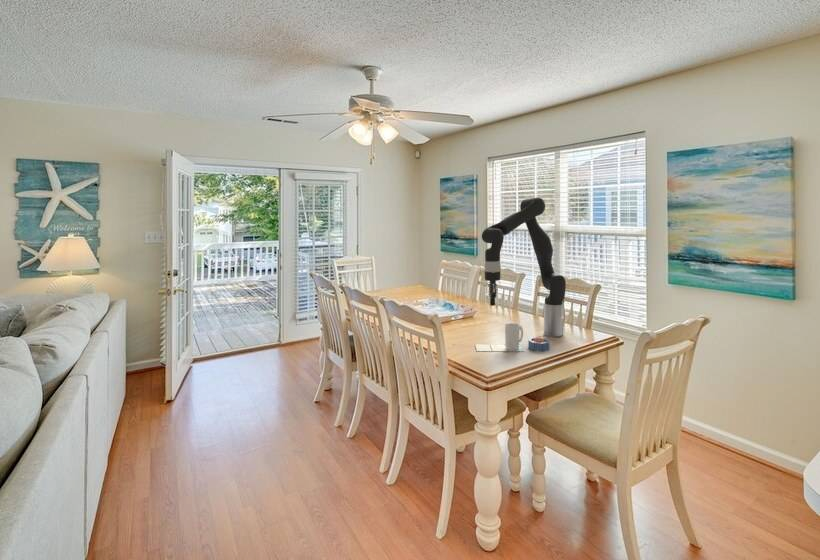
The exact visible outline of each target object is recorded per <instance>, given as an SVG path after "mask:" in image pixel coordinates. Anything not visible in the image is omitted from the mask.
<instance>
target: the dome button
mask: <svg viewBox="0 0 820 560" xmlns="http://www.w3.org/2000/svg"><path fill="white" fill-rule="evenodd" d="M535 337H536V338H535V339H534V340H533V341H534V342H539V343H543V342H545V341H544V339H543V338H544V337H541V336H535Z"/></svg>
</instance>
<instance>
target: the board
mask: <svg viewBox="0 0 820 560" xmlns="http://www.w3.org/2000/svg"><path fill="white" fill-rule="evenodd" d="M474 347H475V352H476V353H477V352H482V353H486V352H487V353H489V352H490V353H494V352H495V353H496V352H497V353H498V352H499V353H502V352H505V353H506V352H507V353H515V352H516V353H517V352H518V353H520V352H521V353H522V352H525V351H524V350H523V348H522V346H521V344H520V343H519V349H518V350H516V351H510V350H507V349H506V345H505V343H502V344H501V343H500V344H499V343H495V344H494V343H490V344H489V343H486V344H485V343H483V344H482V343H481V344H480V343H479V344H478V343H476V344H474Z"/></svg>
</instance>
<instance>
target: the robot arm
mask: <svg viewBox="0 0 820 560" xmlns="http://www.w3.org/2000/svg"><path fill="white" fill-rule="evenodd" d="M519 206H520V208H519V211H517V212H515V213H512V214H510V215H509V216H506V217H504V218H503V219H502V220H501V221H499V222H498V223H495V224H492V225H490V226H488V227H486V228H485V229H484V230H483V232H482V233H481V240H482V241H483V242H484V243H486V244H491V245H490V248H486V249H485V252H484V260H485V261H484V280H485V281H487V282H488V283H487V286H488V294H489V305H490V306H491V307H492V306H496V298H497V292H498V284H497V281H499V282H500V281H501V274H502V272H501V271H502V270H501V265H502V264H501V250H502V247H503V244H504V238H505V237H504V236H506V235H508V234H510V233H511V232H513V231H514V230H516V229H517V228H519V227H520V226H521V225H523V224H525V225H526V228H527V231H528V233H529V237H530V241H531V243H532V247H533V248H532V249H533V250H534V253H535V257H536V259H537V264H538V267H539V272H540V278H541V283H542V285H543V287H544V288H545V290H548V291H549V294H548V296H546V297H545V299H544V312H543V313H544V318H543V320H544V321H543V334H544V336H547V337H552V338H553V337H554V338H557V337H558V338H559V337H562V336H563V335H564V325H565V324H564V321H565V318H564V316H563V313H564V312H563V311H564V310H563V309H564V308H563V307H564V300H565V297H566V287H567V285H566V284H567V283H566V278H565V277H564V276H563V275H562V274H557V273H555V270H554V268H553V267H554V266H553V263H552V261H553V256H554V255H553V253H554V248H553V244H552V241H551V238H550V236H549V234H548V233H547V232H546V231H545V229H544V228H543V227H542V226H541V225H540V223H539V222H538V220H537V217H538V216H541V215H542V214H544V212H545V209H546V202H545V200H544V199H543V198H541V197H531V198H525V199H523V200H522V201H521V202H520V205H519Z"/></svg>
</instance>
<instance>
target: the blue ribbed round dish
mask: <svg viewBox="0 0 820 560" xmlns="http://www.w3.org/2000/svg"><path fill="white" fill-rule="evenodd" d="M536 337H537V336H535V337H529V338H528V345H527V346H528V349H529V350H531V351H534V352H546V351H549V350H550V339H548V338H546V337H542V338H543V339H544V341H545V342H543V343H539V342H534V341H533V340H534V339H535V338H536Z"/></svg>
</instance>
